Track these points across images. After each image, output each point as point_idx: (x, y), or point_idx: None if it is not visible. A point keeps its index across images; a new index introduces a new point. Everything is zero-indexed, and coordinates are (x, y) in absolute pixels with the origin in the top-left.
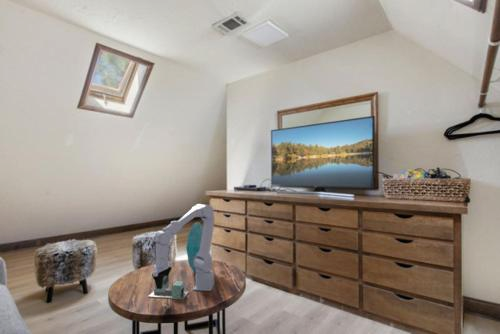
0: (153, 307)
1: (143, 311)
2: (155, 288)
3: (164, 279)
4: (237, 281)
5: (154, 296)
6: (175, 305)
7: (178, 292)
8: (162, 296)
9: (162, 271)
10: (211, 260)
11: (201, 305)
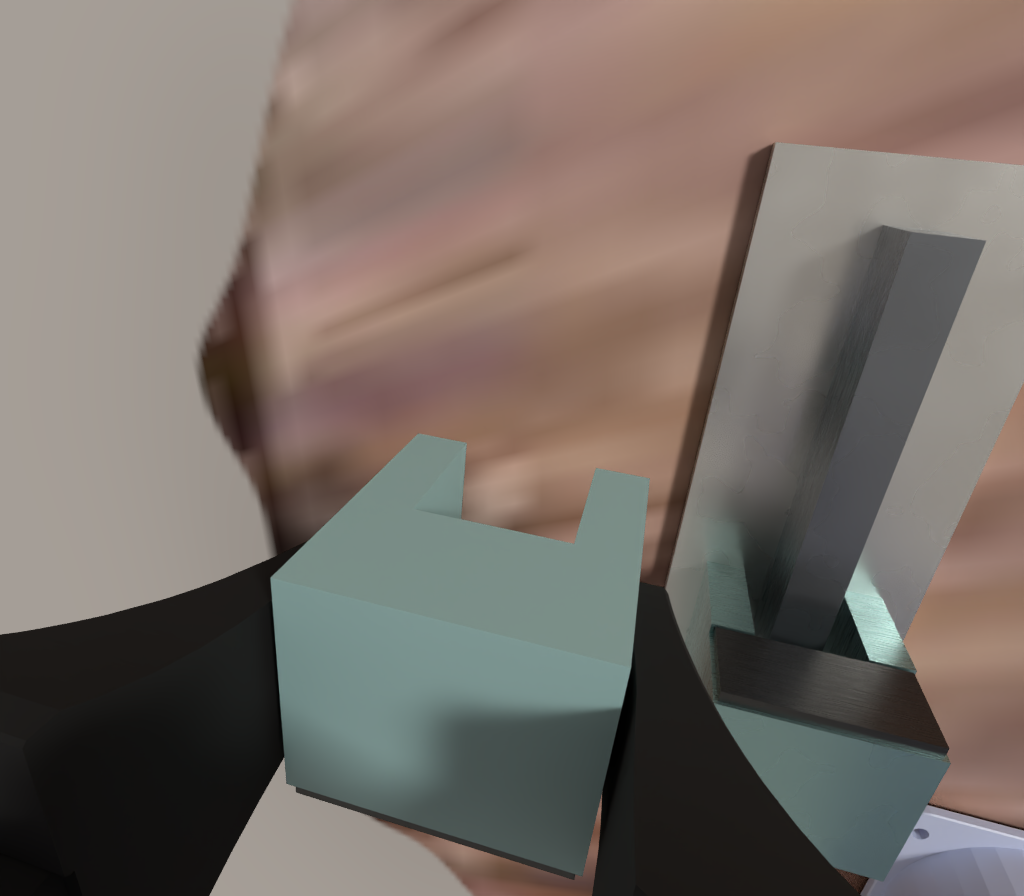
0: (418, 365)
1: (306, 259)
2: (387, 475)
3: (338, 795)
4: None
5: (741, 281)
6: None
7: None
8: (725, 424)
9: (615, 889)
10: None
11: None
